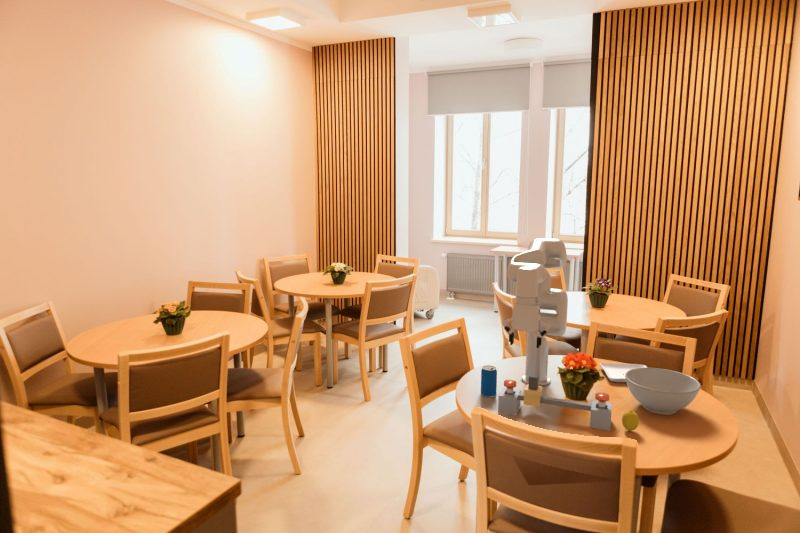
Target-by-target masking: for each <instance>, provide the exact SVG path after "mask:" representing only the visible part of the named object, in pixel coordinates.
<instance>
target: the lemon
mask: <svg viewBox="0 0 800 533" xmlns="http://www.w3.org/2000/svg"><path fill="white" fill-rule="evenodd" d="M621 418H622V420H621V422H622V426H623V428H624V429H626V430H627V431H628V432H631V431H632V432H633V431H634V430H636V429H637V428H638V427H639V422H640V420H639V416H638V414H637V413H636V412H635V411H633V410H632V409H630V410H627V411H625V412H624V413H623V415H622V417H621Z"/></svg>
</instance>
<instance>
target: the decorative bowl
mask: <svg viewBox="0 0 800 533" xmlns="http://www.w3.org/2000/svg"><path fill="white" fill-rule="evenodd" d="M625 378H626V382H627V383H626V385H627V387H628V390H629V392H630V394H631V395H632V396H633V397H634V398H635V400H636V401H638V402H639V404H641V405H642V407H643V408H644V409H645V410H647V411H648V412H650V413H653V414H658V415H665V416H667V415H668V416H669V415H675V414H676V413H677V411H680V410H683V409H685V408H687V407H688V406H689V405H690V404H691V403H692V402H694V400H695V399H696V397H698V395H699V392H700V390H701V382H699V381H698V380H697V379H696V378H694V377H692V376H691V375H688V374H686V373H683V372H680V371H675V370H671V369H666V368H657V367H647V368H636V369H632V370H629V371H628V372H626V374H625Z"/></svg>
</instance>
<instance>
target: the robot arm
mask: <svg viewBox="0 0 800 533" xmlns="http://www.w3.org/2000/svg"><path fill="white" fill-rule="evenodd" d="M566 248H567V247H566V244H565V243H564V241H563V240H561V239H559V238H545V237H544V238H543V237H541V238H534V239H532V240H531V242H530V243H529V245H528V246H527V250H526V251H523V252H521V253H519V254H516V255H514V256H513V257H512V258H511V259H510V261H509V264H508V265H507V271H506V275H507V278H508V280H509V281H510V282H511V283H516V288H515V289H516V291H515V293H516V294H515V300H516V301H515V302H514V303H513V307H512V312H511V313H512V315H511V317H510V318H507V319H505V320H502V322H501V324H502V326H503V327H504V330H505V331H506V332H507V334H508V343H509V345H510V346H512V345H513V344H514V343H515V333H514V332H515V331H520V332H525V333H526V348H525V349H526V351H525V352H526V354H525V374H523V375H522V376H521V381H522V382H523V383H525V384H526V385H527V384H529V376H530V374H537V375H539V383H538V386H542V387H543V386H547V385H550V383H551V378H550V377H549V376H548V368H549V367H548V364H549V362H548V361H549V341H548V340H547V338H546V336H547V335H548V336H556V337H558V336H559V337H561V336H564V335H565V333H566V331H567V322H568V306H569V305H568V300H569V299H568V294H567V292H566V290H564V289H560V288H552V287H551V285H552V276H551V274H550V273H549V270H548V269H554V270H562V269H564V268H565V267H566V265H567V261H568V255H567V249H566ZM541 310H547V311H555V313H551V312H541ZM509 323H510V324H511V327H509V325H508V324H509ZM545 335H546V336H545Z"/></svg>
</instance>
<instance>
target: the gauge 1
mask: <svg viewBox="0 0 800 533" xmlns="http://www.w3.org/2000/svg"><path fill="white" fill-rule="evenodd" d="M503 387H505V388H507V392H506V394H509V395H513V389H515V388H516V387H517V381H516V380H513V379H505V380H503Z"/></svg>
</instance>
